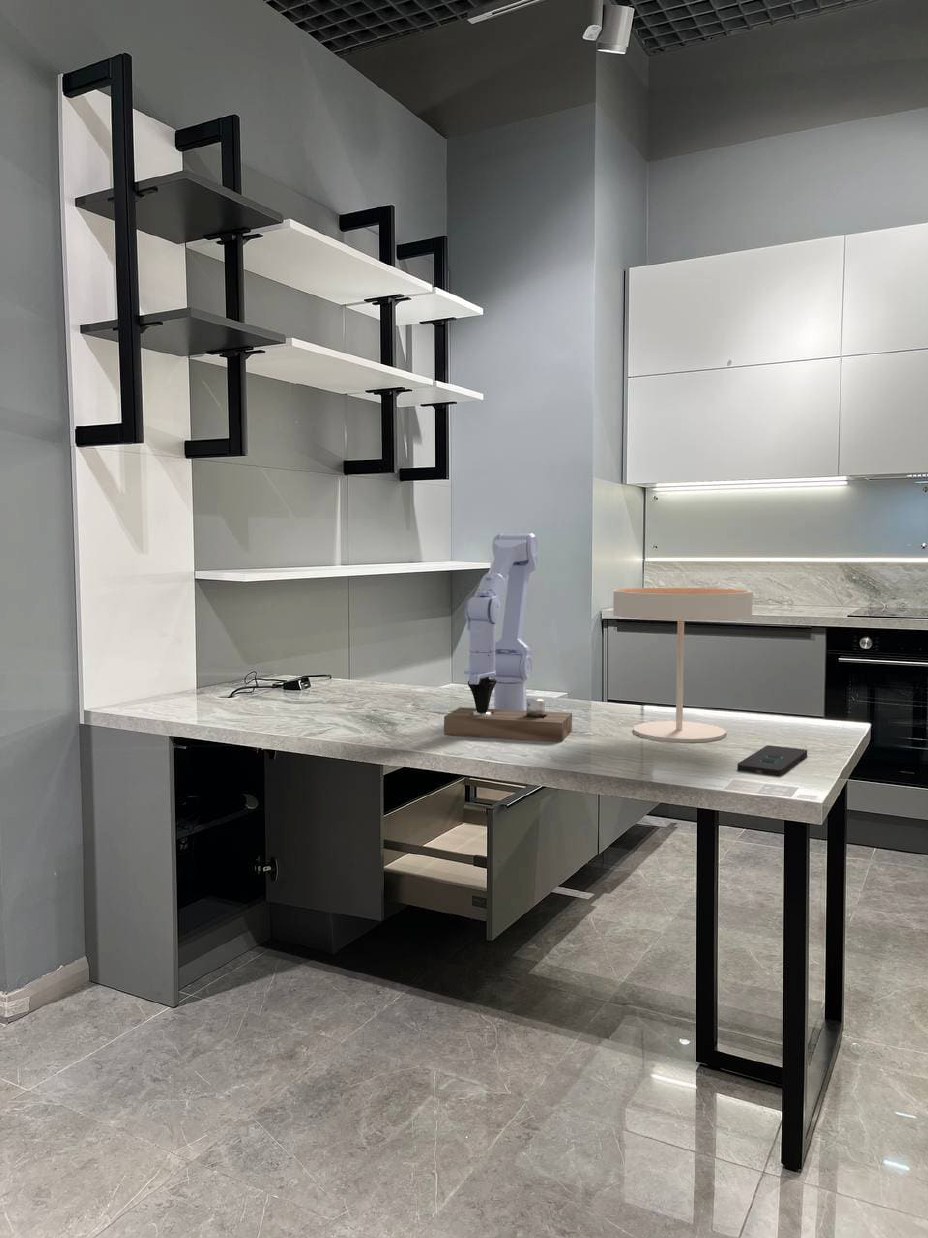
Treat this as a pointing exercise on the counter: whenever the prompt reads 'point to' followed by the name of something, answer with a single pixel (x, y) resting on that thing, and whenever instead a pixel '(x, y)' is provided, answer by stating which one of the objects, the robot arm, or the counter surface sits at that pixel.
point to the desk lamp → (681, 641)
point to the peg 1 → (482, 713)
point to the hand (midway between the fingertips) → (482, 712)
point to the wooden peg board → (508, 724)
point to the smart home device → (772, 760)
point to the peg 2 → (535, 708)
